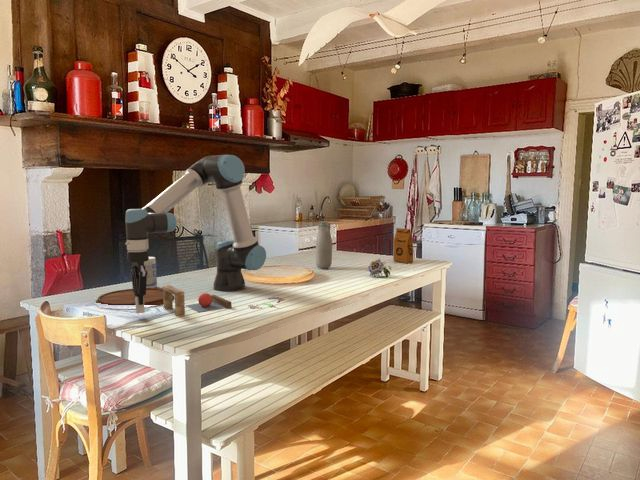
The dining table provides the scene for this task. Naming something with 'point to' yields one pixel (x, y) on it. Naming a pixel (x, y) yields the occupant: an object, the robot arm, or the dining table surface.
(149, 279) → the supplement tub
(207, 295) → the ball
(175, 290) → the bridge
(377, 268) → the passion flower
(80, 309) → the dining table surface
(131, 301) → the cutting board
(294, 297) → the dining table surface
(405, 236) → the coffee package
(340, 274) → the dining table surface
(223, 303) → the kerb
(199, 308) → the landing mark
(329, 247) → the grey bottle
